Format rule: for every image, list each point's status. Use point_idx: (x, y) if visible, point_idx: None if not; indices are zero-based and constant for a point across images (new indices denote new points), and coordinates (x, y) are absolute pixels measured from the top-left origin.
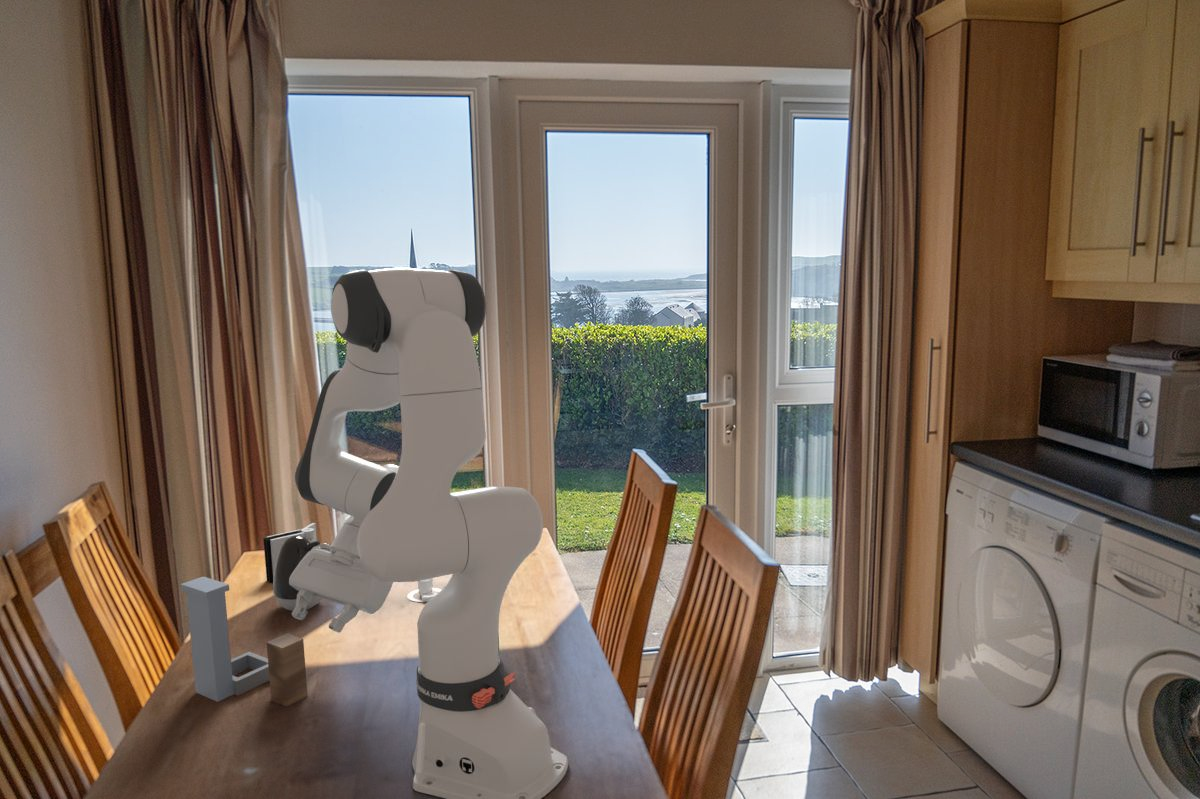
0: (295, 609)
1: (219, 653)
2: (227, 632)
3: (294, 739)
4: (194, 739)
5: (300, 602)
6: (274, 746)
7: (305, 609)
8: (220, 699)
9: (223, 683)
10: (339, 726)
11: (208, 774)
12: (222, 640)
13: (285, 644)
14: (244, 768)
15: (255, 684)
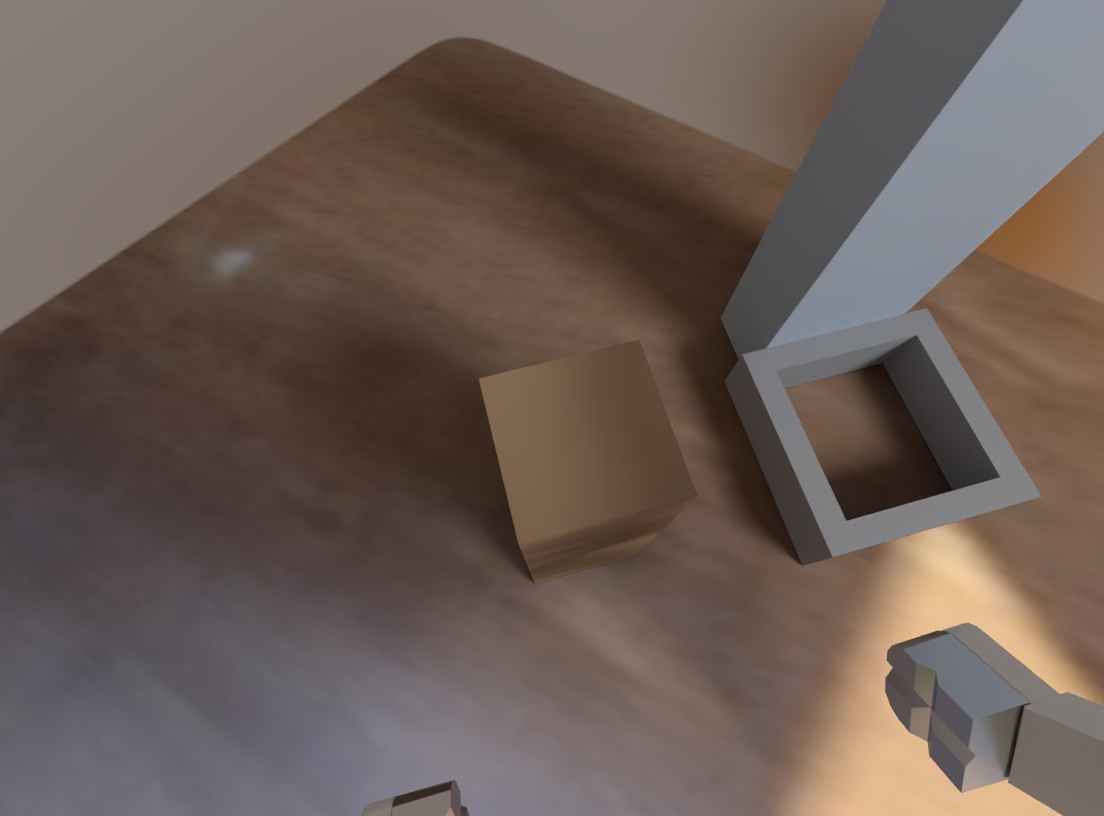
0: (998, 664)
1: (802, 214)
2: (877, 184)
3: (272, 413)
4: (522, 208)
5: (1093, 753)
6: (289, 352)
7: (1020, 787)
8: (725, 326)
9: (749, 310)
10: (208, 574)
11: (311, 185)
12: (842, 186)
13: (519, 414)
14: (254, 254)
15: (759, 450)
